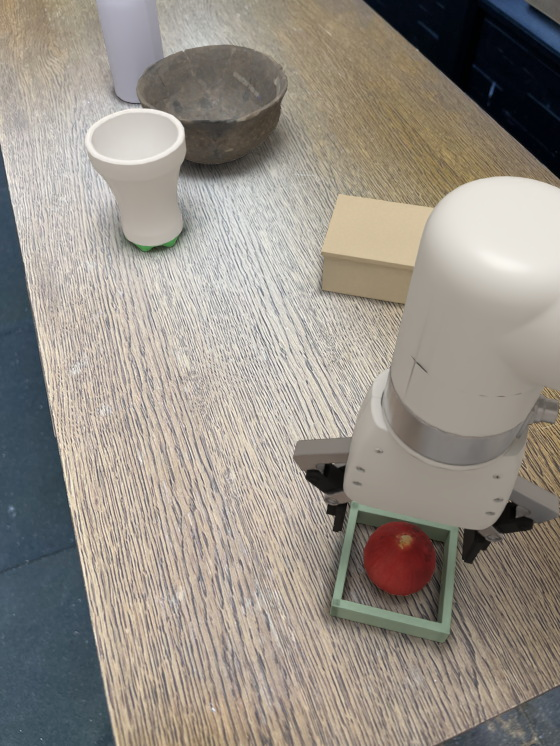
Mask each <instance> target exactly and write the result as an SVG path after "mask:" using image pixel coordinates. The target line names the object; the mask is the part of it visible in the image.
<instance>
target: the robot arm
mask: <svg viewBox="0 0 560 746" xmlns="http://www.w3.org/2000/svg"><path fill="white" fill-rule="evenodd" d="M433 208H434V209H433V211H432V212H431V214H430V216H429V218H428V219H427V222H426V224H425V227H424V230H423V234H422V237H421V240H420V244H419V248H418V252H417V257H416V261H415V265H414V269H413V273H412V277H411V282H410V286H409V290H408V294H407V298H406V302H405V304H404V307H403V312H402V315H401V318H400V324H399V327H398V332H397V336H396V340H395V344H394V348H393V352H392V358H391V361H390V365H389V368H385V369H383V370H382V371H381V372H379V373H378V374H377V376H376V377H375V379H374V380H373V381H372V383H371V384H370V386H369V388H368V389H367V392H366V393H365V396H364V397H363V400H362V402H361V405H360V408H359V410H358V413H357V416H356V419H355V423H354V427H353V429H352V432H351V433H352V434H351V436H345V437H344V436H343V437H330V438H329V437H328V438H314V439H299V440H297V441H296V444H295V446H294V447H295V448H294V451H293V456H292V459H293V461H294V462H295V464H296V465H297V466H298V467H299V469H300V470H301V472H304V473H305V480H306V481H307V482H309V484H311V485H312V486H314V487H315V488H316V489H318V490H319V491H320V492H321V493H323V494H324V496H323V502H325V504H327V505H326V511H325V514H326V515H328V516H333V517H334V518H333V519H334V520H333V524H332V530H331V532H333V533H338V534H339V533H340V532H341V533H342V532H343V527H344V523H345V518H346V514H347V509H348V504H349V503H351V502H352V501H354V502H356V503H359V504H362V505H365V506H368V507H372V508H376V509H380V510H384V511H389V512H393V513H397V514H401V515H406V516H410V517H414V518H419V519H423V520H427V521H432V522H436V523H441V524H446V525H450V526H455V527H459V528H461V529H463V535H462V547H461V550H462V551H461V561H463V563H465V564H469V565H472V564H473V563H474V561H475V560H476V559H477V557H478V555H479V554H480V552H481V551H484V552H486V551H487V550H488V548H489V546H490V545H491V543H501V542H503V540H504V535H507V534H514V533H521V532H524V533H525V532H527V531H532V530H533V529H534V525H535V524H538V525H540V524H543V523H546V522H549V521H551V520H554V519H557V518H559V516H560V498H559V496H558V495H556V494H555V493H552V492H550V491H549V490H547V489H545V488H543V487H541V486H540V485H537V484H535V483H534V482H532V481H530V480H528V479H526V478H525V477H523V476H521V475H519V473H520V470H521V466H522V463H523V459H524V456H525V451H526V447H527V441H528V434H529V429H530V426H532V425H534V424H537V425H538V424H540V423H545V424H549V425H554V424H555V423H556V421H557V419H558V416H559V412H560V401H559V400H558V399H555V398H550V397H546V395H545V394H542V392H543V391H544V389H545V388H547V389H550V390H554V391H557V392H559V393H560V187H557V186H554V185H552V184H550V183H547V182H544V181H541V180H537V179H534V178H527V177H523V176H512V175H511V176H510V175H505V176H504V175H502V176H490V177H483V178H478V179H475V180H472V181H469V182H466V183H462V184H461V185H459V186H458V187H456V188H454V189H453V190H451V191H450V192H448V193H447V194H445V196H443V197H442V198H441V199H440V200H439V202H438V203H436V204H435V206H434V207H433Z"/></svg>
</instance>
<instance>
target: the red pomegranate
mask: <svg viewBox="0 0 560 746" xmlns="http://www.w3.org/2000/svg"><path fill="white" fill-rule="evenodd" d="M362 551H363V552H362V554H363V568H364V570H365V572H366V575H367V577H368V579H369V580H370V581H371V582H372V583H373V584H374V585H375V586H376V587H377V588H378V589H379V590H381V591H383V592H384V593H387V594H389V595H391V596H399V597H407V596H410V595H413V594H416V593H418V592H420V591H422V590H423V588H424V587H426V585H428V583H429V582H431V580H432V577H433V575H434V573H435V570H436V566H437V553H436V549H435V547H434V545H433V543H432V541H431V539H430V538H429V537H428V535H427V534H426V533H424V532H423V531H422V530H421V529H420V528H419V527H418V526H416V525H413V524H410V523H407V522H389V523H387V524H384V525H381V526H380V527H376V529H375V530H374V531H373V532H372V533H371V534H370V535H369V537H368V539H367V542H366V543H365V546H364V548H363V550H362Z"/></svg>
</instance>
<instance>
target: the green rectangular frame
mask: <svg viewBox="0 0 560 746" xmlns="http://www.w3.org/2000/svg"><path fill="white" fill-rule="evenodd" d="M389 522H407V523H410V524H413V525H416V526H418V527H419V528H420V529H421V530H422V531H423V532H424V533H426V534H427V535H428V537H429V538H430V540H433V541H437V542H443V543H444V546H443V556H442V565H441V575H440V576H441V577H440V585H439V586H440V587H439V596H438V597H439V598H438V608H437V609H438V610H437V617H436V621H433V620H429V619H425V618H421V617H417V616H412V615H409V614H404V613H400V612H396V611H392V610H387V609H384V608H380V607H375V606H371V605H367V604H362V603H360V602H359V603H358V602H355V601H351V600H346V599H343V593H344V587H345V582H346V577H347V571H348V568H349V567H348V566H349V562H350V561H349V560H350V556H351V552H352V551H351V550H352V545H353V539H354V534H355V530H356V524H362V525H366V526H371V527H375V528H378V527H380V526H381V525H384V524H387V523H389ZM459 528H460V527H455V526H450V525H446V524H441V523H436V522H432V521H427V520H423V519H419V518H414V517H410V516H406V515H401V514H397V513H393V512H389V511H384V510H380V509H376V508H372V507H368V506H365V505H362V504H359V503H356V502H354V501H350V508H349V513H348V518H347V524H346V528H345V534H344V538H343V543H342V549H341V554H340V559H339V562H338V569H337V574H336V579H335V583H334V584H335V585H334V589H333V594H332V599H331V604H330V609H329V616H331V617H336V618H340V619H344V620H348V621H352V622H356V623H361V624H365V625H368V626H371V627H372V626H373V627H376V628H380V629H385V630H388V631H393V632H395V633H396V632H397V633H401V634H405V635H409V636H412V637H416V638H421V639H424V640H429V641H434V642H437V643H441V644H444V643H445V642H446V640H447V639H448V637H449V636H450V634H451V624H452V623H451V622H452V611H453V601H454V588H455V574H456V564H457V553H458V540H459V530H460V529H459Z"/></svg>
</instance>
